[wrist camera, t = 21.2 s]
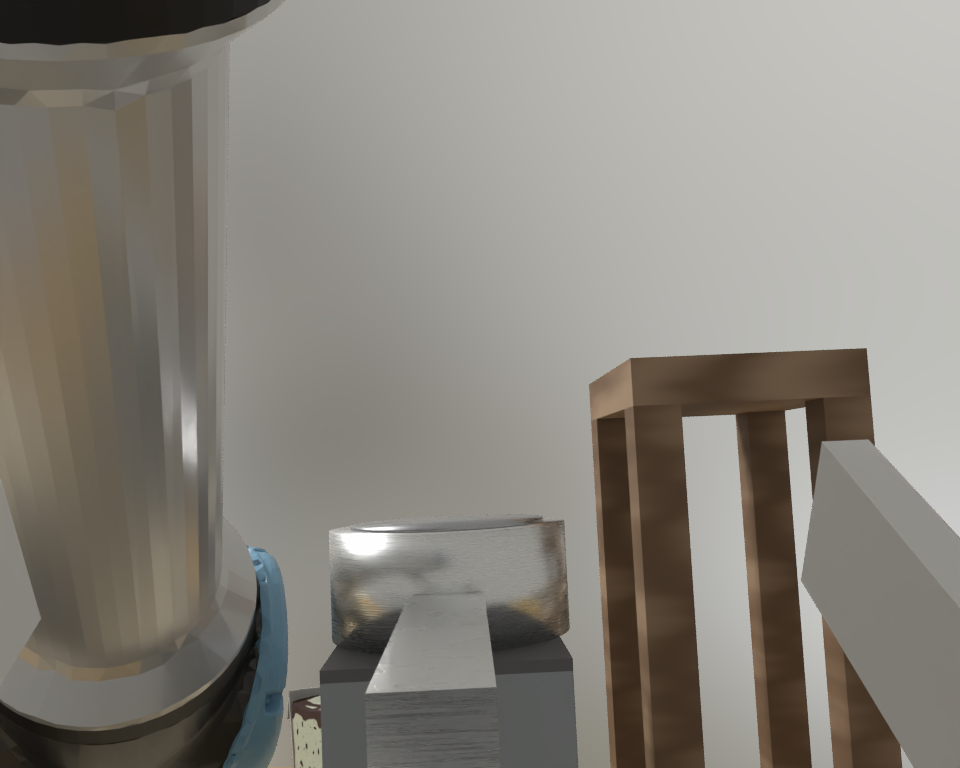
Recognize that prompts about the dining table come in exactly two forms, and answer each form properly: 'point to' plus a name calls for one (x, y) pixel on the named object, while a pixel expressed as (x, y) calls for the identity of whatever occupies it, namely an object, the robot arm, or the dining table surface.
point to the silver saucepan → (443, 625)
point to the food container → (305, 727)
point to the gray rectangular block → (520, 700)
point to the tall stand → (768, 544)
